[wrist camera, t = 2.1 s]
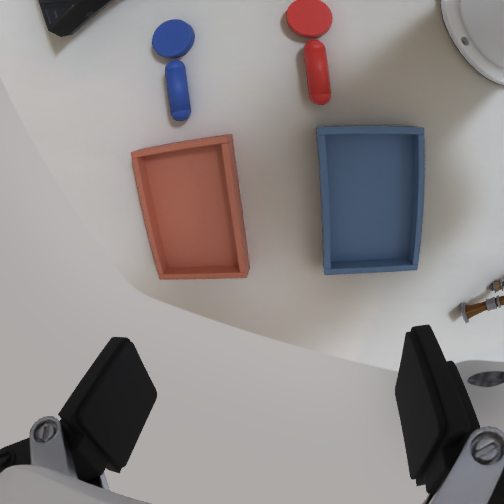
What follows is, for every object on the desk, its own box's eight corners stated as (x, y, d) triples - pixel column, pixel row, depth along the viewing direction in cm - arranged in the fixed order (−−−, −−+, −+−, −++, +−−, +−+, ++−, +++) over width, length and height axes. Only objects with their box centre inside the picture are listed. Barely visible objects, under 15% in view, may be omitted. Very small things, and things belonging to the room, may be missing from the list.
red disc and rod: (284, 2, 20) (282, -5, 19) (327, 0, 20) (329, -7, 18) (298, 106, 25) (298, 106, 23) (342, 104, 24) (345, 103, 22)
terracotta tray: (140, 149, 28) (130, 152, 26) (232, 134, 26) (227, 135, 25) (166, 270, 34) (159, 279, 32) (249, 268, 32) (246, 278, 30)
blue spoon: (154, 27, 23) (146, 24, 21) (192, 17, 22) (186, 12, 20) (166, 124, 27) (158, 125, 25) (205, 117, 26) (199, 117, 24)
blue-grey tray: (315, 126, 25) (316, 128, 23) (416, 126, 23) (424, 127, 22) (323, 265, 31) (324, 275, 29) (411, 260, 29) (417, 270, 27)
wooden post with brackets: (520, 275, 26) (526, 304, 23) (465, 296, 32) (465, 325, 29) (517, 265, 26) (523, 293, 23) (460, 287, 32) (461, 315, 29)
